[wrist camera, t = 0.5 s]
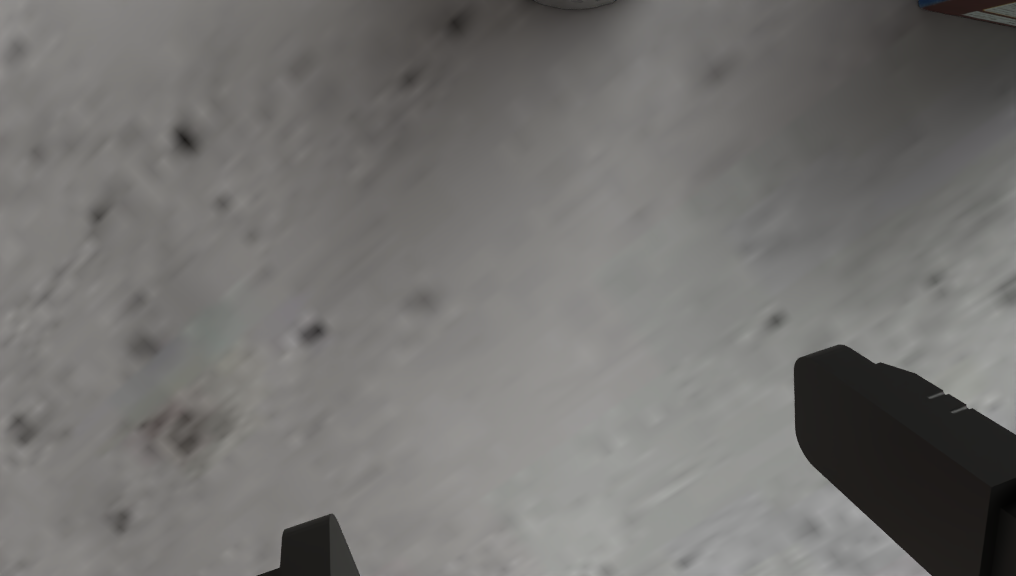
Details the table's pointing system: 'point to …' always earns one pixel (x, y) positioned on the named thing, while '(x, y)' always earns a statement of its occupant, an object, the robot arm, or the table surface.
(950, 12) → the protein box
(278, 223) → the table surface
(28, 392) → the table surface
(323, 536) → the robot arm
